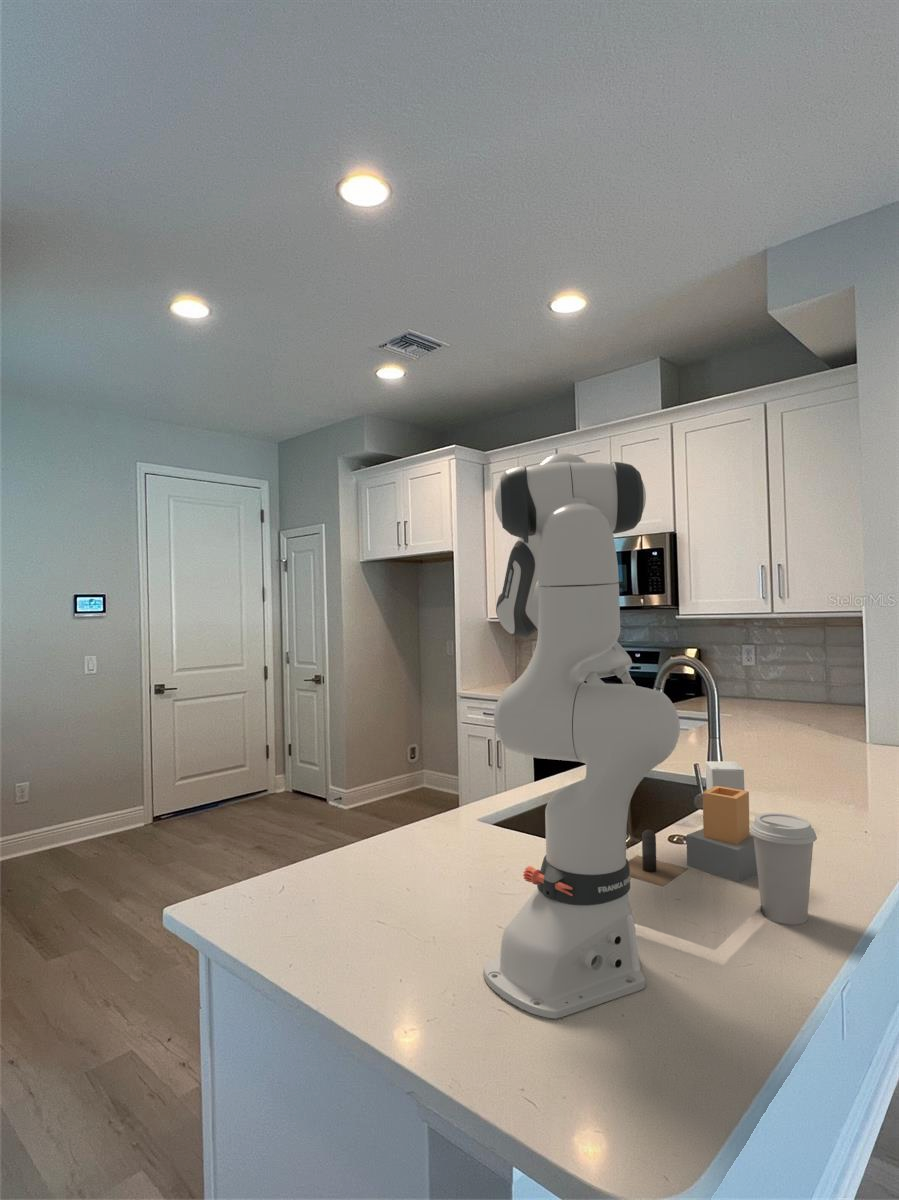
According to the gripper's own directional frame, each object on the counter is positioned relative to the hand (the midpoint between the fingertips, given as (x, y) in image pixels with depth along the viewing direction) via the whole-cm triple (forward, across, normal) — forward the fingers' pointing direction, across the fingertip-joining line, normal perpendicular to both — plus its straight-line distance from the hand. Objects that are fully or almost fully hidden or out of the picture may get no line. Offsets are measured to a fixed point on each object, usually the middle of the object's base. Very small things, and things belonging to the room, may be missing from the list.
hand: (620, 690), depth 138 cm
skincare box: (+32, +20, +14) cm, 40 cm away
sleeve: (+32, +2, +4) cm, 32 cm away
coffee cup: (+46, -8, 0) cm, 46 cm away
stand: (+30, -8, +16) cm, 35 cm away
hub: (+37, +2, +9) cm, 38 cm away
